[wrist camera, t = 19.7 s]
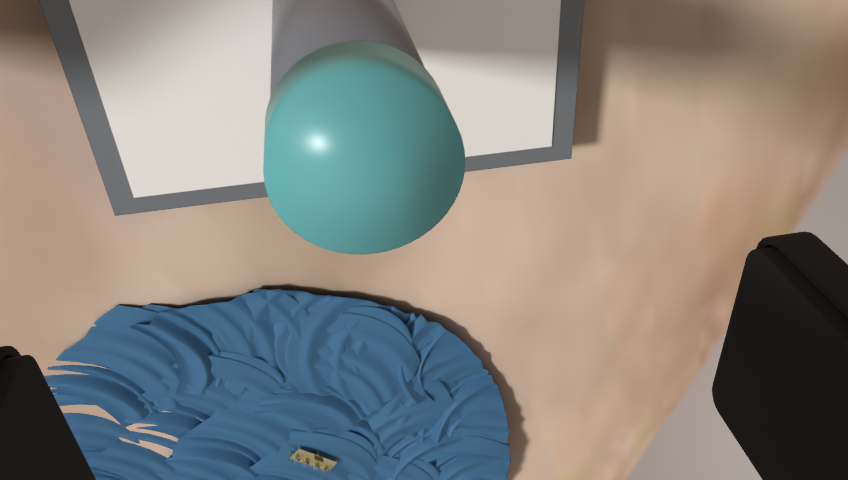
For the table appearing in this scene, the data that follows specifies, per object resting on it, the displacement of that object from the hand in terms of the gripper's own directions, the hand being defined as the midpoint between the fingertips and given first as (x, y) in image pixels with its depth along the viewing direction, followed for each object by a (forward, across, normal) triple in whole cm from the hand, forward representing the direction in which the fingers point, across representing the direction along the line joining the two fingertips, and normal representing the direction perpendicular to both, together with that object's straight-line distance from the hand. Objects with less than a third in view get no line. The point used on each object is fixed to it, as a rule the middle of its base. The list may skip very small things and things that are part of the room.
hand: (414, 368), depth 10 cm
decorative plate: (+23, +7, +30) cm, 38 cm away
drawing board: (+22, 0, +3) cm, 23 cm away
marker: (+20, 0, 0) cm, 20 cm away
